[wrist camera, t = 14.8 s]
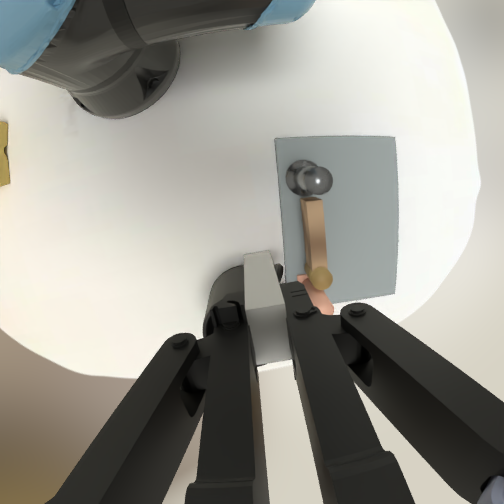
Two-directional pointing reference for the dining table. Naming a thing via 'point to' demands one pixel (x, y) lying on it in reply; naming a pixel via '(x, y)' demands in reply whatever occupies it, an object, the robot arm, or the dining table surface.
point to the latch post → (316, 295)
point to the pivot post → (308, 178)
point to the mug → (228, 284)
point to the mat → (346, 212)
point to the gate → (315, 243)
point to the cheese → (3, 155)
